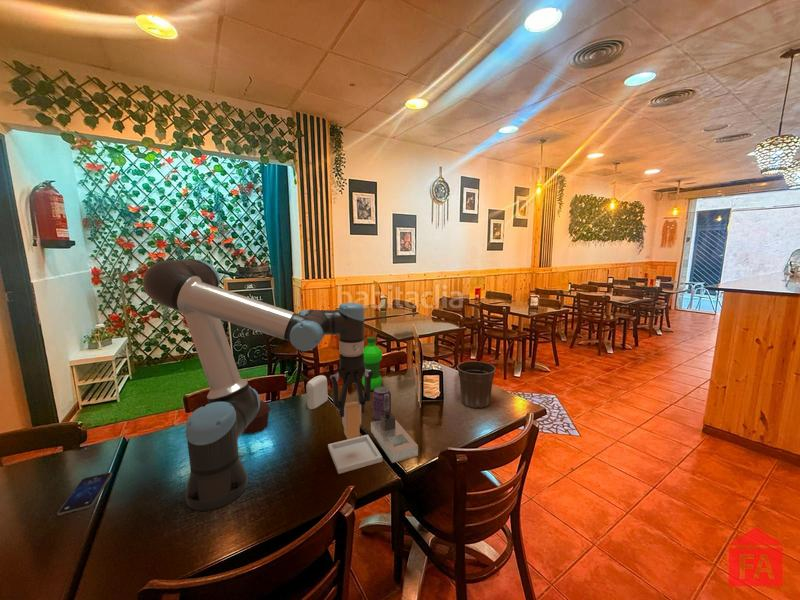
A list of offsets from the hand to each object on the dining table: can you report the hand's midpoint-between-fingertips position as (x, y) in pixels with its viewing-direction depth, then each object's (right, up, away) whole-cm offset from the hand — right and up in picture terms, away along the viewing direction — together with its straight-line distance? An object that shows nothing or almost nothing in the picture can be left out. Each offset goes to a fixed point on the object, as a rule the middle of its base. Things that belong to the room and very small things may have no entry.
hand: (351, 423), depth 105 cm
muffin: (-39, -9, +20) cm, 45 cm away
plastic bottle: (+2, -3, +54) cm, 54 cm away
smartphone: (-71, -14, -14) cm, 74 cm away
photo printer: (-20, -6, +38) cm, 43 cm away
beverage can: (+8, -8, +26) cm, 28 cm away
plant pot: (+48, -5, +39) cm, 62 cm away
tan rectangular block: (0, -4, +1) cm, 4 cm away
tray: (+1, -11, +2) cm, 11 cm away
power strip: (+13, -10, +8) cm, 18 cm away
